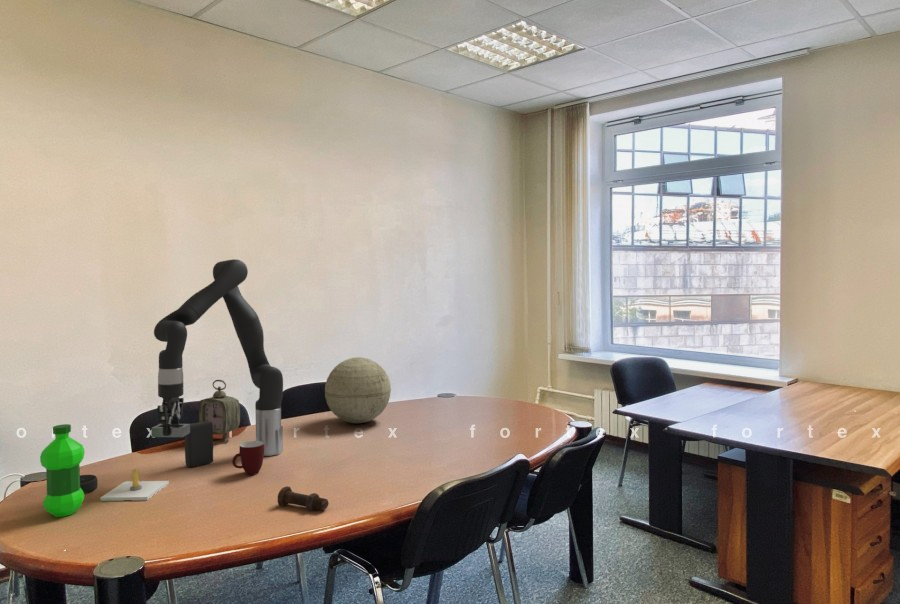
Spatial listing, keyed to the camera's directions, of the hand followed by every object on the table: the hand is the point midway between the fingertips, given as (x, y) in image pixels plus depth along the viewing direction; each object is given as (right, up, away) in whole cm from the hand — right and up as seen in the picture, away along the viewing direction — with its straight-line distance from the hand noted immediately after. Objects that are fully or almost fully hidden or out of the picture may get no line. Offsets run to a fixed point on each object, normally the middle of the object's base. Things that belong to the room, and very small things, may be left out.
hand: (171, 432), depth 192 cm
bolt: (+49, -17, -22) cm, 56 cm away
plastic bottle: (-18, -17, -25) cm, 36 cm away
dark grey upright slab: (+2, -16, +18) cm, 24 cm away
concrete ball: (+49, -13, +78) cm, 93 cm away
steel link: (0, -1, 0) cm, 1 cm away
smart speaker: (-25, -17, -7) cm, 31 cm away
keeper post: (-7, -16, -9) cm, 20 cm away
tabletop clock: (-3, -14, +50) cm, 52 cm away
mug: (+23, -16, +8) cm, 29 cm away
